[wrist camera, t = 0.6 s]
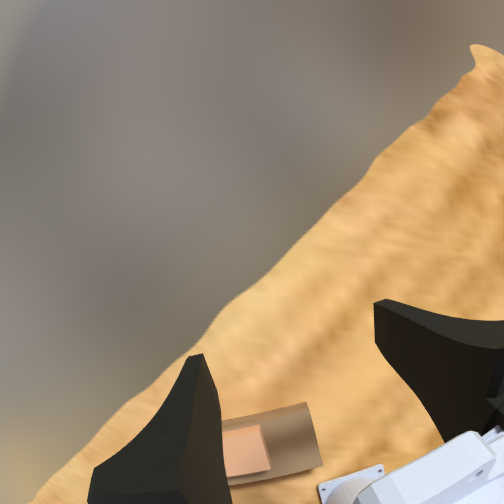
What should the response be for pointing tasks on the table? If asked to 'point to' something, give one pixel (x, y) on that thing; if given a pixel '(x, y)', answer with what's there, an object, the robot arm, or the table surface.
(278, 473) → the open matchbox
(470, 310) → the table surface
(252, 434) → the peach flat square block
